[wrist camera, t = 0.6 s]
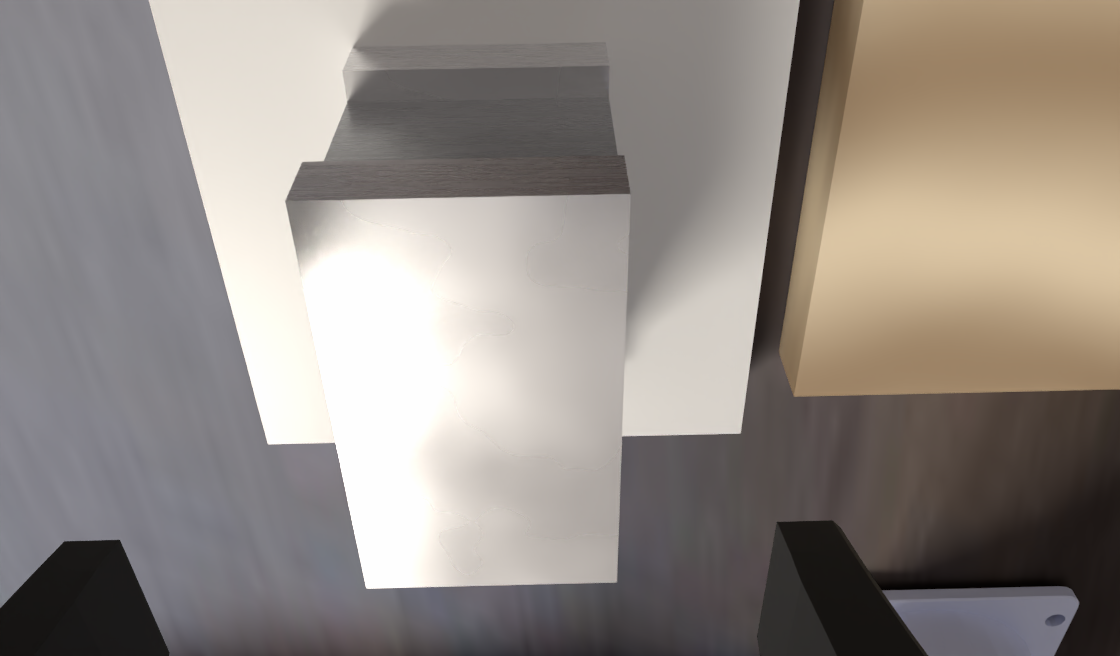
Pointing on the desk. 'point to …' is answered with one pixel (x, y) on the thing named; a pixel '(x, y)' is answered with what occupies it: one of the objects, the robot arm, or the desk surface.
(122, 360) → the desk surface
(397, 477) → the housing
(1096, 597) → the desk surface
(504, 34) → the stand
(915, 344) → the stand
